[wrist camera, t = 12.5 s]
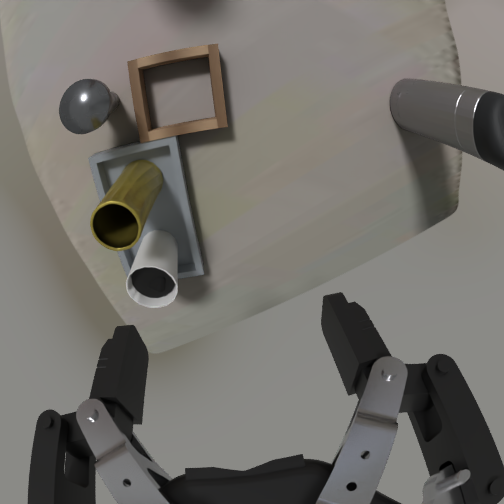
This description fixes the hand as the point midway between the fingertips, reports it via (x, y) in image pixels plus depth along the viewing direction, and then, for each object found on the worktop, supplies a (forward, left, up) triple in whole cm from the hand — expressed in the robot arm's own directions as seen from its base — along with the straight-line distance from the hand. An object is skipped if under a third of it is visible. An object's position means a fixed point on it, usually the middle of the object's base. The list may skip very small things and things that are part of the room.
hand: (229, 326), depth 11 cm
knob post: (+12, -11, -30) cm, 34 cm away
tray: (+9, +6, -30) cm, 32 cm away
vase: (+9, +1, -30) cm, 31 cm away
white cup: (+9, +12, -30) cm, 33 cm away
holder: (+2, -10, -30) cm, 32 cm away
